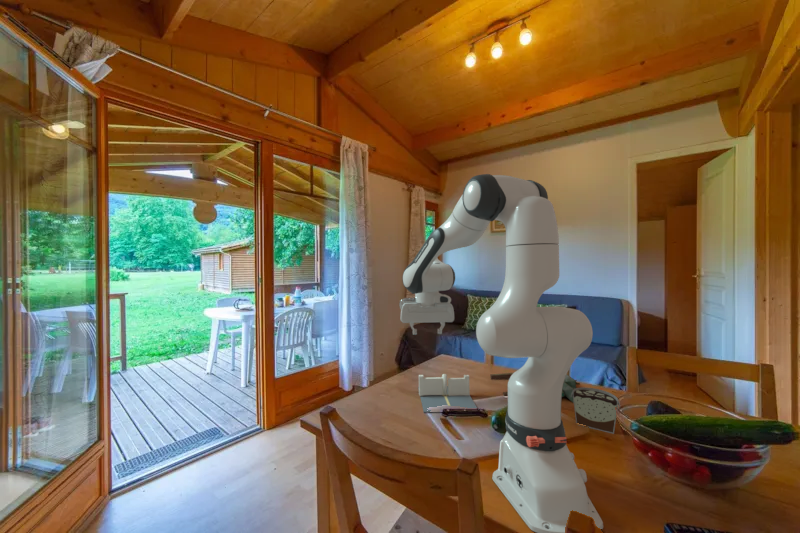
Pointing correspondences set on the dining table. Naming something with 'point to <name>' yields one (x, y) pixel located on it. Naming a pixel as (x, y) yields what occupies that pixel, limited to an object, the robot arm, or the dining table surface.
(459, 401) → the card
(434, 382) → the fence panel
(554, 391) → the robot arm
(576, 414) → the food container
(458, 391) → the fence fixed section
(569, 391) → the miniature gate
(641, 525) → the dining table surface
